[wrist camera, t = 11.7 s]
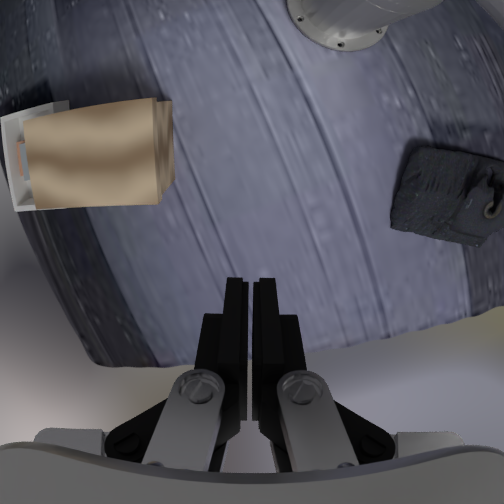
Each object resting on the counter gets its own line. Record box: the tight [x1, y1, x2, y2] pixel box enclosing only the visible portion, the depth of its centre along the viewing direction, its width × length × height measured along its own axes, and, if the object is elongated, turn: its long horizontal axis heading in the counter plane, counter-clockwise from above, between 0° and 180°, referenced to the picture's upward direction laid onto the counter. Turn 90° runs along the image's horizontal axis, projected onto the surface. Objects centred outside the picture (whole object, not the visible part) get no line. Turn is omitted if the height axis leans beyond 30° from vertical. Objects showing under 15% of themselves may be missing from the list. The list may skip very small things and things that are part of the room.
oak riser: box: [23, 98, 175, 210], centre depth 32 cm, size 11×16×8 cm, turn 89°
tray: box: [0, 100, 70, 212], centre depth 34 cm, size 14×10×4 cm
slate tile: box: [19, 142, 30, 181], centre depth 33 cm, size 5×5×2 cm
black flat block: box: [391, 146, 504, 247], centre depth 37 cm, size 15×22×5 cm
